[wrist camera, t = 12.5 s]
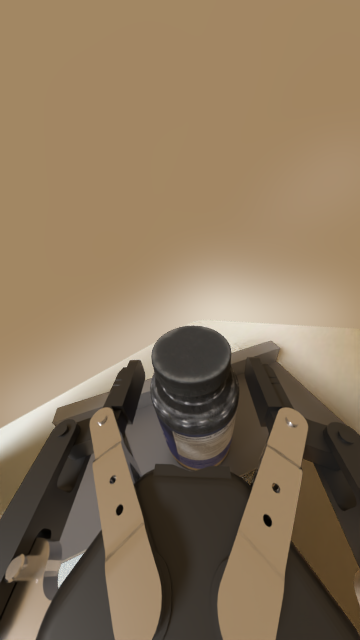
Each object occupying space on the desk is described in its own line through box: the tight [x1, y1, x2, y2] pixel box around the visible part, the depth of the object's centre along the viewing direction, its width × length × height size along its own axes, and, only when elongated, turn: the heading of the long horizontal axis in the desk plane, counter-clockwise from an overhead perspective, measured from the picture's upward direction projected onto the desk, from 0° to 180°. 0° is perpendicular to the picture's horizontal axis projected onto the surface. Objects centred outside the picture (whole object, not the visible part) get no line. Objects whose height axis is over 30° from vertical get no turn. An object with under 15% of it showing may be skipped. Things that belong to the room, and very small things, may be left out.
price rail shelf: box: [52, 341, 344, 564], centre depth 16 cm, size 26×10×3 cm, turn 107°
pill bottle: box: [150, 326, 239, 471], centre depth 13 cm, size 6×6×11 cm
